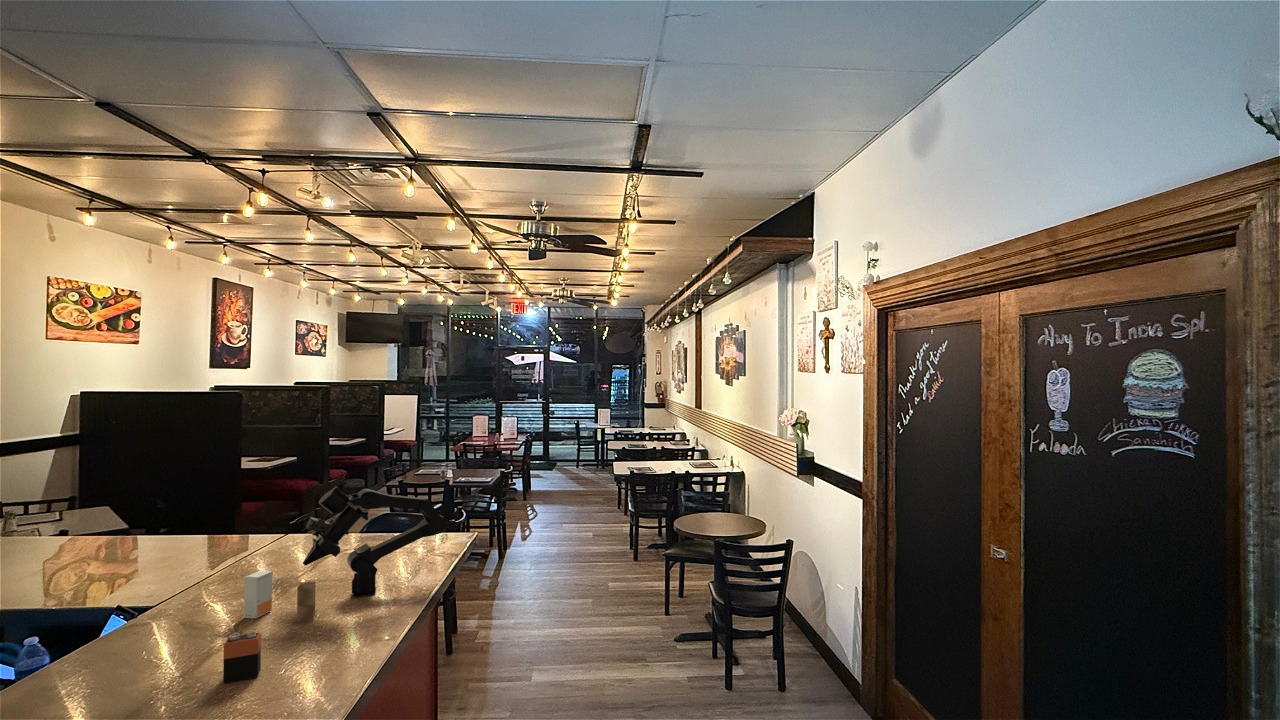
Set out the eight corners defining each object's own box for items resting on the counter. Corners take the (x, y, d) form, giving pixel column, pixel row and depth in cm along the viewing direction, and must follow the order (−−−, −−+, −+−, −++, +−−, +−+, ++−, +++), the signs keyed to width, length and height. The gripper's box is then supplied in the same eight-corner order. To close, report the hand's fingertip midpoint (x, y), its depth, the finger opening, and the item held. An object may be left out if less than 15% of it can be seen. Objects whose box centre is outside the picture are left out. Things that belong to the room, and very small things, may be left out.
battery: (227, 675, 140) (227, 632, 140) (261, 669, 143) (261, 627, 143) (222, 684, 136) (223, 640, 136) (257, 678, 139) (258, 635, 139)
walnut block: (315, 615, 175) (315, 581, 175) (312, 621, 171) (313, 586, 171) (299, 617, 174) (300, 583, 174) (297, 623, 170) (297, 587, 170)
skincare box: (256, 619, 173) (256, 577, 173) (243, 618, 174) (244, 576, 174) (272, 611, 179) (273, 570, 179) (260, 610, 179) (261, 570, 180)
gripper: (319, 502, 194) (279, 542, 188) (328, 513, 179) (285, 556, 172) (345, 523, 199) (307, 562, 192) (357, 535, 184) (316, 578, 177)
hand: (303, 564), depth 183 cm, fingers closed
